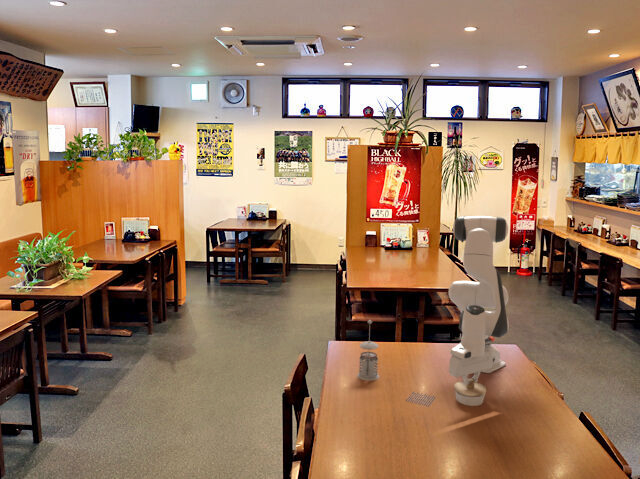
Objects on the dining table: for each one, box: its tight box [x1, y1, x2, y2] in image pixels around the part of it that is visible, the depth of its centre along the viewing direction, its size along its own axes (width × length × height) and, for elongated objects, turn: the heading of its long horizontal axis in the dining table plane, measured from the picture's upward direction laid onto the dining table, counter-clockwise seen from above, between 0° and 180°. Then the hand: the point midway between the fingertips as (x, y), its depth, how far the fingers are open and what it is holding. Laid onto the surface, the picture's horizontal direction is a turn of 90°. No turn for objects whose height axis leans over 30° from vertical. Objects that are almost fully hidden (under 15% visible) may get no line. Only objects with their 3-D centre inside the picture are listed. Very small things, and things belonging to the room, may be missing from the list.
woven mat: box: [406, 391, 436, 407], centre depth 217 cm, size 10×11×2 cm
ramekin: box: [454, 389, 486, 407], centre depth 217 cm, size 11×11×5 cm
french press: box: [356, 319, 380, 382], centre depth 239 cm, size 10×12×25 cm
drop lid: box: [453, 378, 487, 396], centre depth 216 cm, size 12×12×4 cm
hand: (470, 383), depth 216 cm, fingers closed on drop lid, 3 cm apart
